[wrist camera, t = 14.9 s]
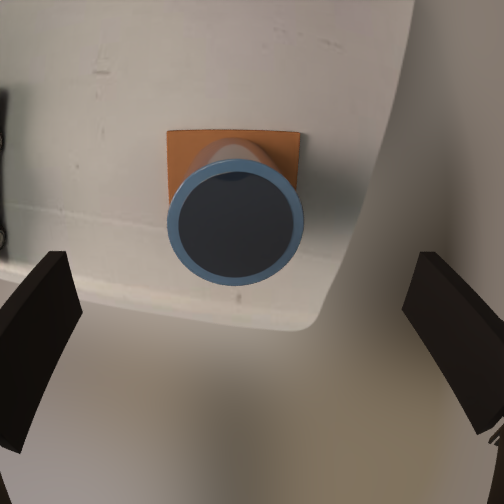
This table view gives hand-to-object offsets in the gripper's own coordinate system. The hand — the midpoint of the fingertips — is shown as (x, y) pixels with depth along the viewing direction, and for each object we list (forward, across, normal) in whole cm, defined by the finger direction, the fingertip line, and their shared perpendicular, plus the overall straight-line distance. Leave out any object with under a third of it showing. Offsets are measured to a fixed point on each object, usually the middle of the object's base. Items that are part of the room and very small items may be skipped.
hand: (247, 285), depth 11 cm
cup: (+15, 0, 0) cm, 15 cm away
